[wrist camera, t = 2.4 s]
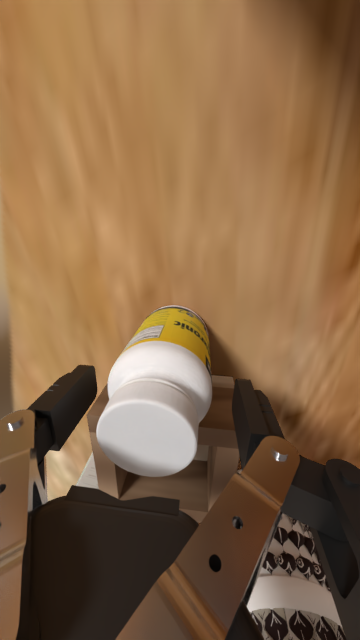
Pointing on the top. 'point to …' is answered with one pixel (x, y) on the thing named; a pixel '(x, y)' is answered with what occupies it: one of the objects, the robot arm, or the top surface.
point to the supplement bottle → (158, 395)
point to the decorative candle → (294, 589)
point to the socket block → (194, 480)
